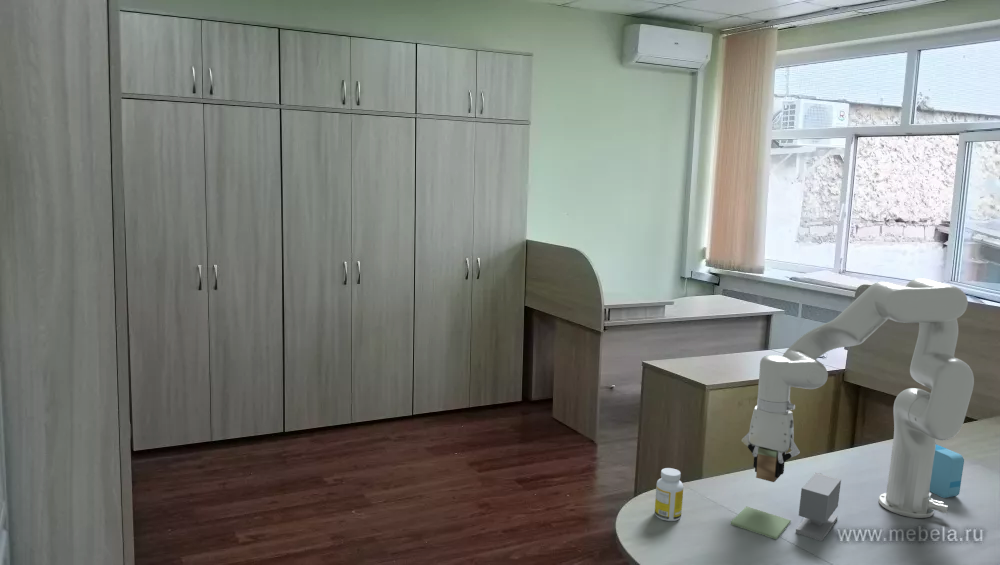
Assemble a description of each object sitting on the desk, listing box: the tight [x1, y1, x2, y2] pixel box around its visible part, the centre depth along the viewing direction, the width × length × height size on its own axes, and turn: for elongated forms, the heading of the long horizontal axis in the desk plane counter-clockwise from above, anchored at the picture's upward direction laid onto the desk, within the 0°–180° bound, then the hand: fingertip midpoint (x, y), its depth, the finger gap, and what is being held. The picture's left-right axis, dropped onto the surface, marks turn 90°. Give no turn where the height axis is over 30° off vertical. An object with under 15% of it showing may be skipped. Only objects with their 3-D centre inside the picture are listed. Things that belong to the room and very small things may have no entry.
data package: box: [929, 444, 965, 499], centre depth 202 cm, size 12×4×12 cm, turn 20°
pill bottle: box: [654, 467, 684, 522], centre depth 181 cm, size 6×6×12 cm
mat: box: [730, 506, 792, 540], centre depth 180 cm, size 11×11×1 cm
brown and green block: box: [755, 447, 781, 483], centre depth 188 cm, size 4×4×8 cm
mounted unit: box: [795, 472, 842, 542], centre depth 179 cm, size 6×14×11 cm, turn 142°
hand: (768, 472), depth 188 cm, fingers closed on brown and green block, 4 cm apart
